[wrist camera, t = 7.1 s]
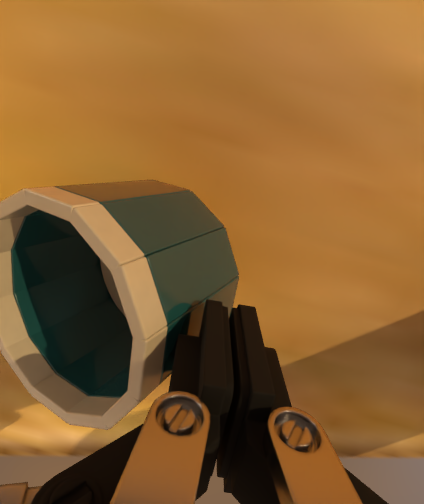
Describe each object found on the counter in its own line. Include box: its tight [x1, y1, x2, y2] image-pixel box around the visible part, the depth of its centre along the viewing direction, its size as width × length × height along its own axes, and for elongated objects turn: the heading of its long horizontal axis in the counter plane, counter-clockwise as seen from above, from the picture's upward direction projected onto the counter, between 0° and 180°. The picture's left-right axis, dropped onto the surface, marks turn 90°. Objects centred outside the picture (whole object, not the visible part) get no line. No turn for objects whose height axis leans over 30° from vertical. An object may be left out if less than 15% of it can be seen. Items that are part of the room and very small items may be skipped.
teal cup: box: [0, 180, 239, 430], centre depth 13 cm, size 8×8×6 cm
